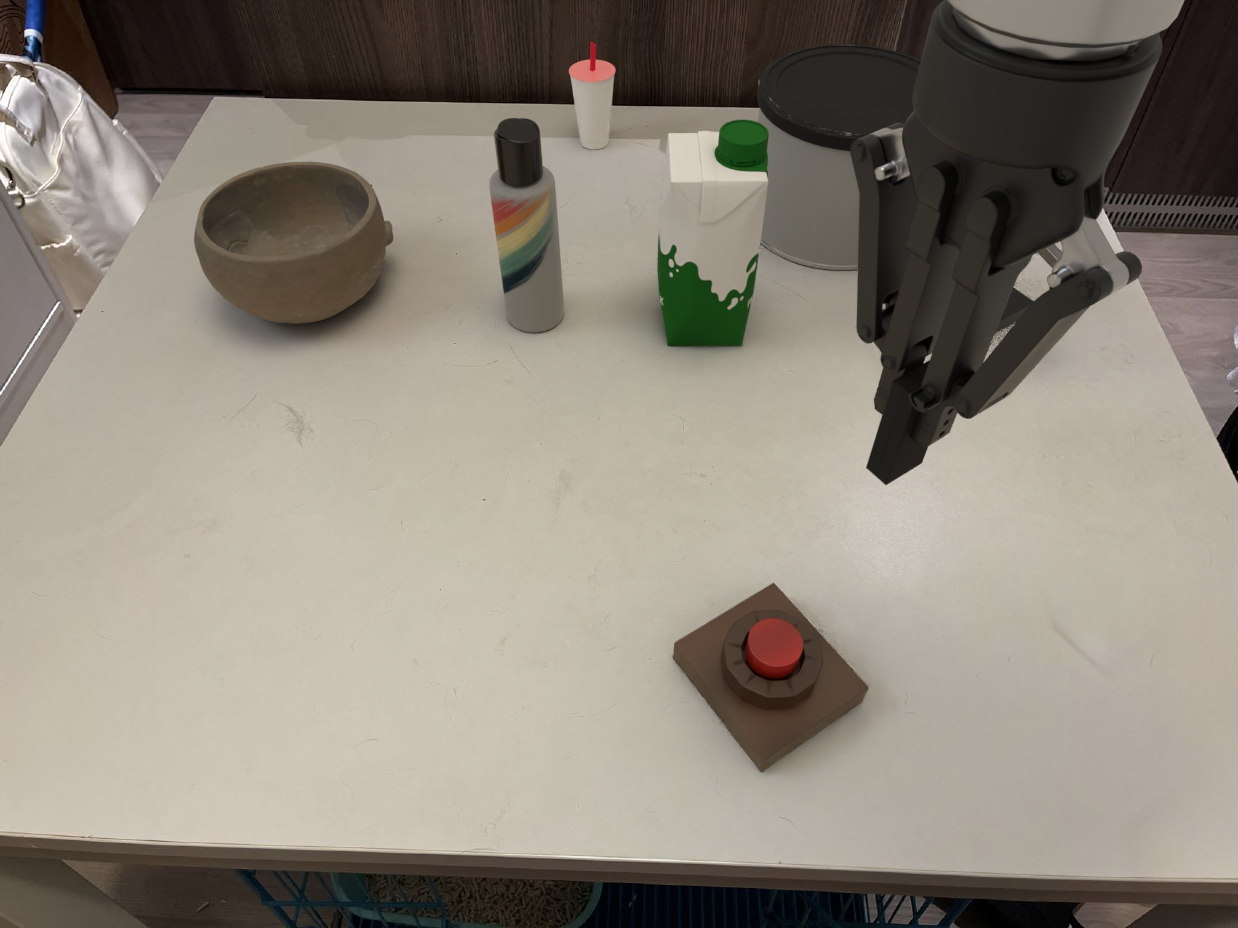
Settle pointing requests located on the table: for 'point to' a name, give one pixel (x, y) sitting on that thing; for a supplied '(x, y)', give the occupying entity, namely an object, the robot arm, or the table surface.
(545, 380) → the table surface
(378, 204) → the bowl
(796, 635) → the red push button
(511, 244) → the lotion bottle
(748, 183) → the milk carton
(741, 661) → the control block
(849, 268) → the container
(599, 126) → the cup
